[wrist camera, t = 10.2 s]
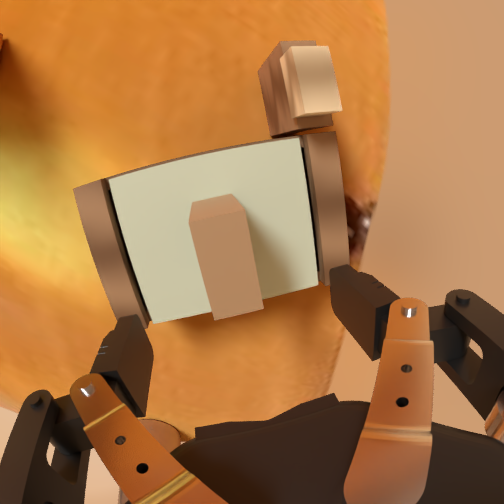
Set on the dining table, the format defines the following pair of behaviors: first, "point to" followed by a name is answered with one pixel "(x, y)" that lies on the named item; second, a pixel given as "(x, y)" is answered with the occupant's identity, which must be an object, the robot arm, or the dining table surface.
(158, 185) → the lid
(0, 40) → the coffee package
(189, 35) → the dining table surface
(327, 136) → the wooden box frame
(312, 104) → the tan wooden block
